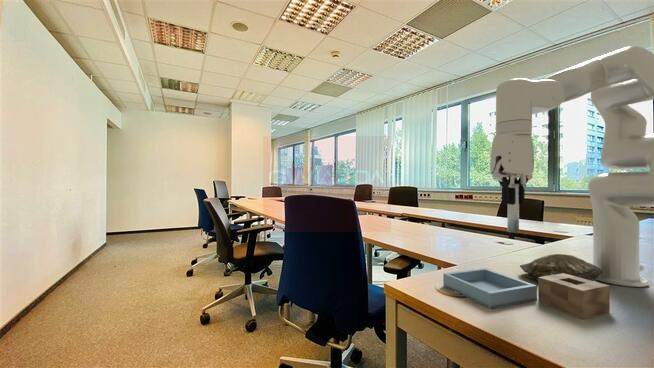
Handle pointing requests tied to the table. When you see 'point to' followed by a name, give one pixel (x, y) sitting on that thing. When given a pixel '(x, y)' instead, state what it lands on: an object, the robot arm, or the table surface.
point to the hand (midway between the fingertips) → (512, 203)
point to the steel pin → (513, 214)
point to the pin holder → (574, 295)
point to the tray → (490, 287)
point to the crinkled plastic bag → (561, 267)
